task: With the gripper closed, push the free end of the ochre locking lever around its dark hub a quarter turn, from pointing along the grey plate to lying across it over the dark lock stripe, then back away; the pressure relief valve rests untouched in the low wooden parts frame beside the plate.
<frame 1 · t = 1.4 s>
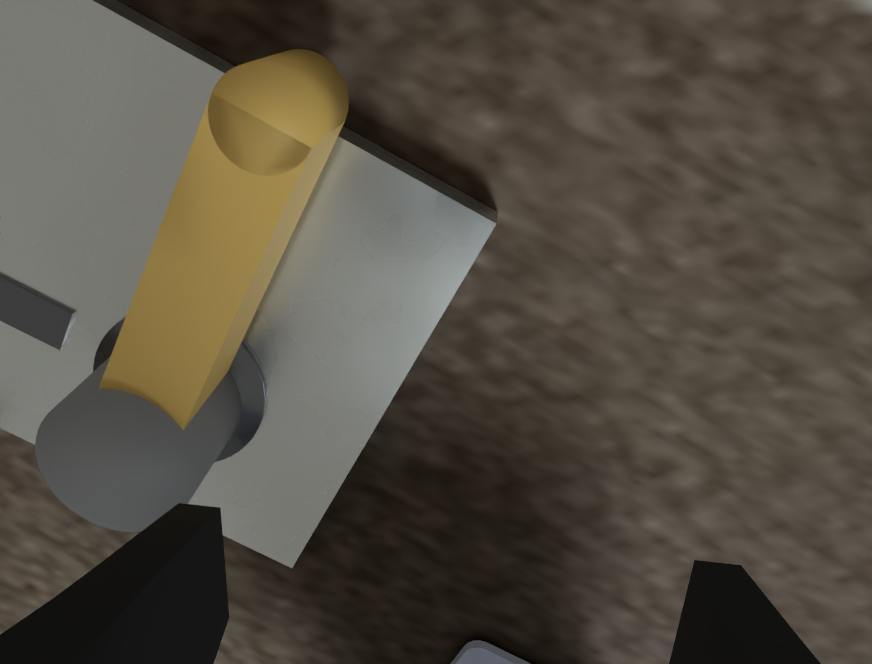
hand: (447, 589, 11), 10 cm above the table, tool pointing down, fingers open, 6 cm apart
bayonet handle: (200, 300, 17), point 3 cm above the table, hinge at 0.0°
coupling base: (116, 258, 20), on the table
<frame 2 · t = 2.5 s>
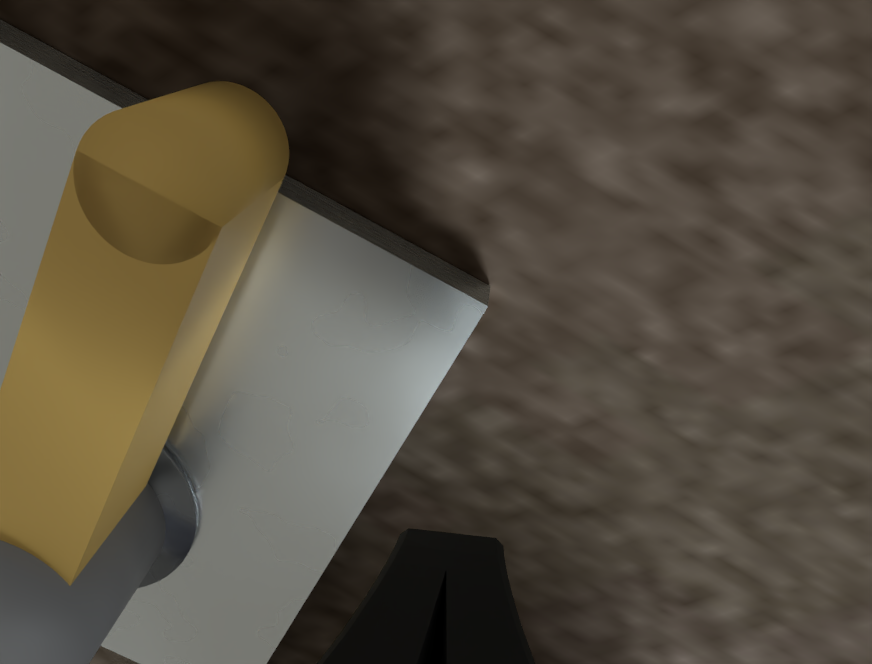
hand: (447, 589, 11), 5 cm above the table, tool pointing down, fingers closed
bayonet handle: (95, 411, 13), point 3 cm above the table, hinge at 0.0°
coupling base: (10, 337, 16), on the table
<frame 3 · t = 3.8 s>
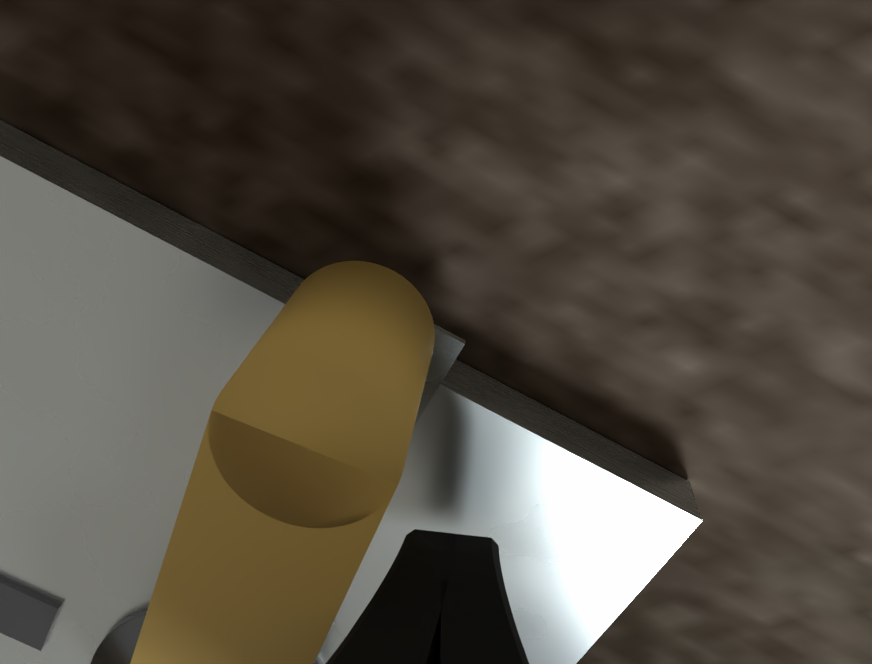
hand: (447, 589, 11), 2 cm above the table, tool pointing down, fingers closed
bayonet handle: (229, 650, 11), point 3 cm above the table, hinge at 5.9°, touching gripper
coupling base: (122, 519, 14), on the table
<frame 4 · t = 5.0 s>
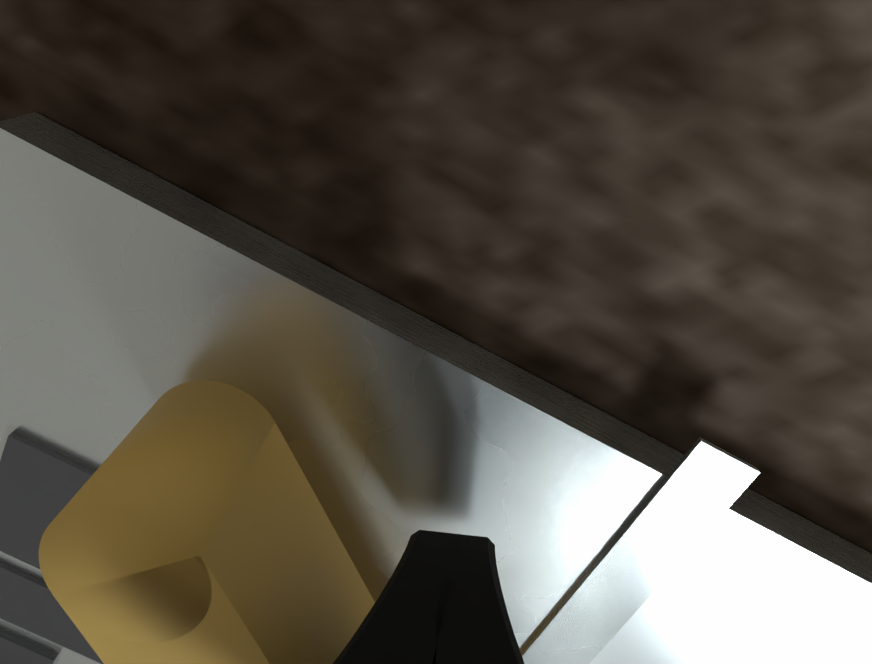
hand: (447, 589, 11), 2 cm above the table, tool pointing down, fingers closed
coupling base: (355, 613, 14), on the table
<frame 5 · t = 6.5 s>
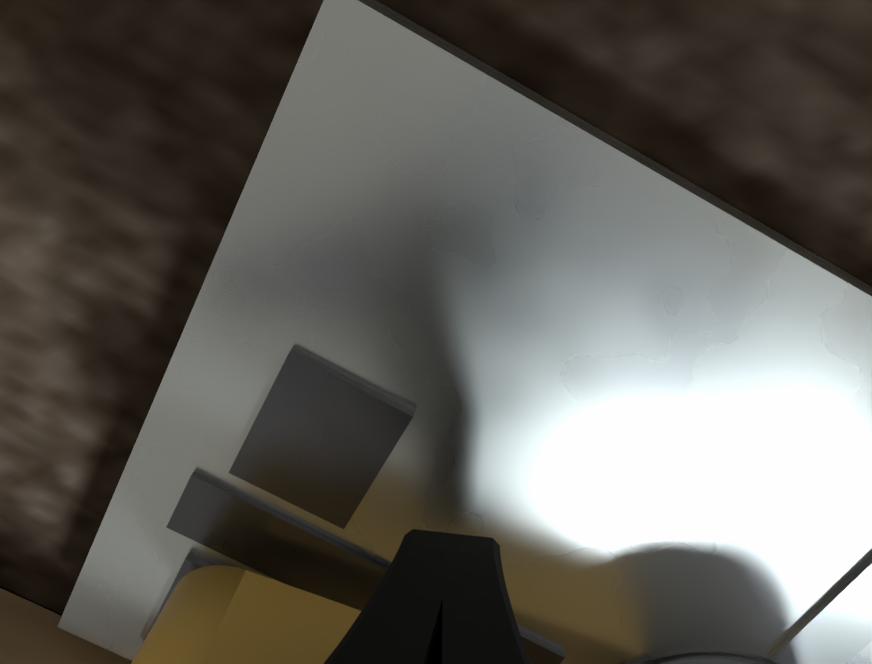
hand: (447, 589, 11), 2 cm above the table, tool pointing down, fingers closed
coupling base: (615, 561, 13), on the table
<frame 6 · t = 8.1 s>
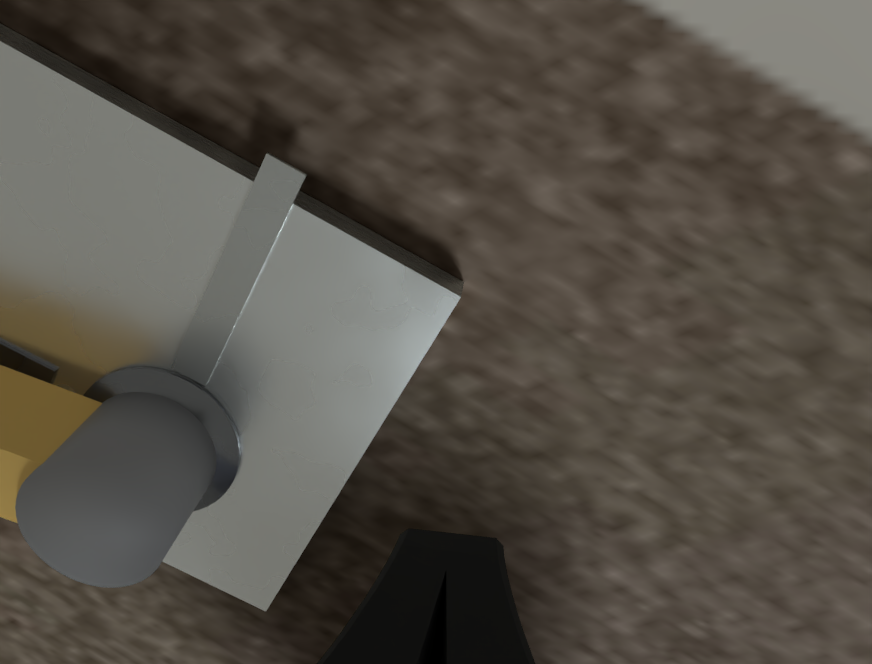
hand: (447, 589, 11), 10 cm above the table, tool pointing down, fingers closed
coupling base: (98, 316, 21), on the table
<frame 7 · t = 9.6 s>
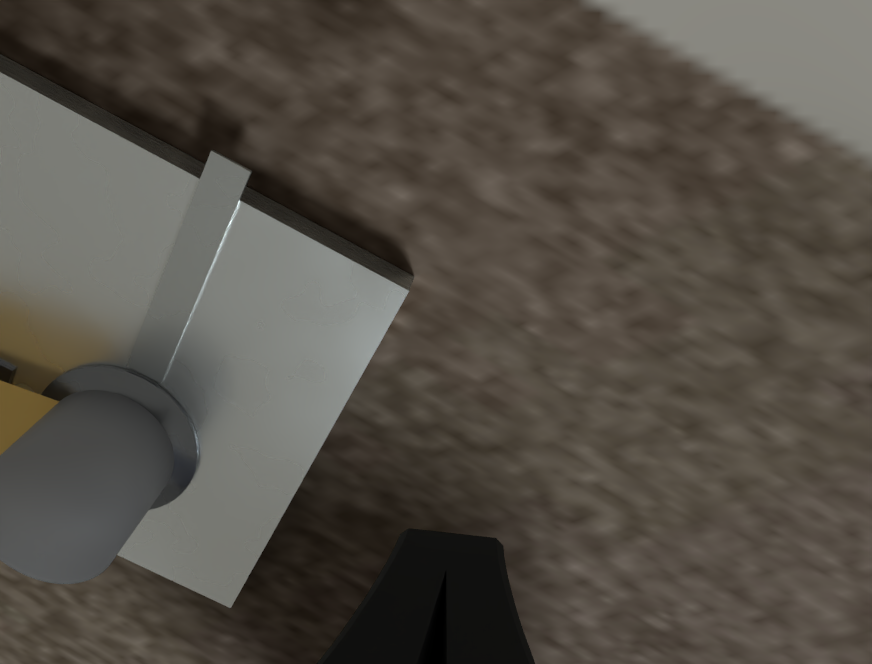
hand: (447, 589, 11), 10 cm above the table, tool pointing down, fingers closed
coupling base: (56, 316, 21), on the table
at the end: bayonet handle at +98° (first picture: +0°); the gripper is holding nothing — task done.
